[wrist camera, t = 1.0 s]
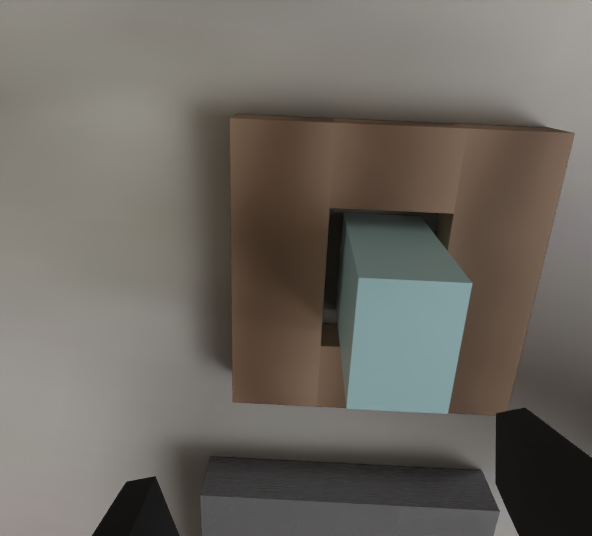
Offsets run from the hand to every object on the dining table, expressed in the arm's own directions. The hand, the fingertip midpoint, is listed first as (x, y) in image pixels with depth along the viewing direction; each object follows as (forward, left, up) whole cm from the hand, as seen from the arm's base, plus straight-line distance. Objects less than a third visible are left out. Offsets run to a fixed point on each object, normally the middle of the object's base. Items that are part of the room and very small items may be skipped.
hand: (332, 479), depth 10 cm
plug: (-2, 0, -12) cm, 12 cm away
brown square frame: (-2, 0, -12) cm, 12 cm away
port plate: (-2, +18, -12) cm, 21 cm away
